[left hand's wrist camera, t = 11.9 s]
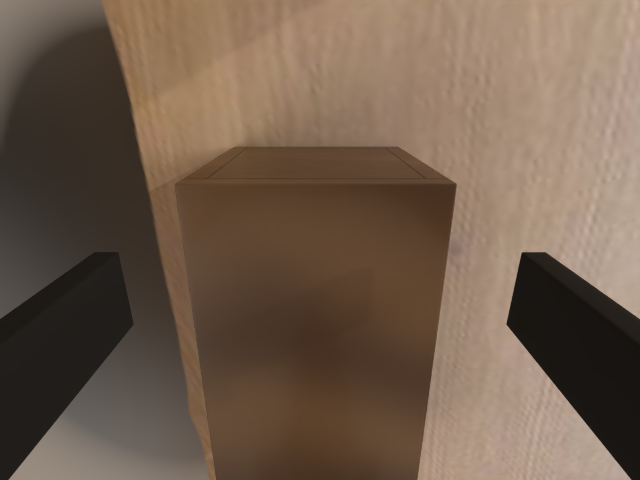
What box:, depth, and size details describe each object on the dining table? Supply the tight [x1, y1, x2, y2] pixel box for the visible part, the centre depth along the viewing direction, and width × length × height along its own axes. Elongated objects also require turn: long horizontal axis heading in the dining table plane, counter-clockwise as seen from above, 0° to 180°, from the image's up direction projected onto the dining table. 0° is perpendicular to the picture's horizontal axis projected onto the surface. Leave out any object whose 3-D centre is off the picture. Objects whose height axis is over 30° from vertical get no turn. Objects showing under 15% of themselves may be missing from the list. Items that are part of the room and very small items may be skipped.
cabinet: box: [175, 147, 457, 480], centre depth 23 cm, size 17×11×12 cm, turn 0°
